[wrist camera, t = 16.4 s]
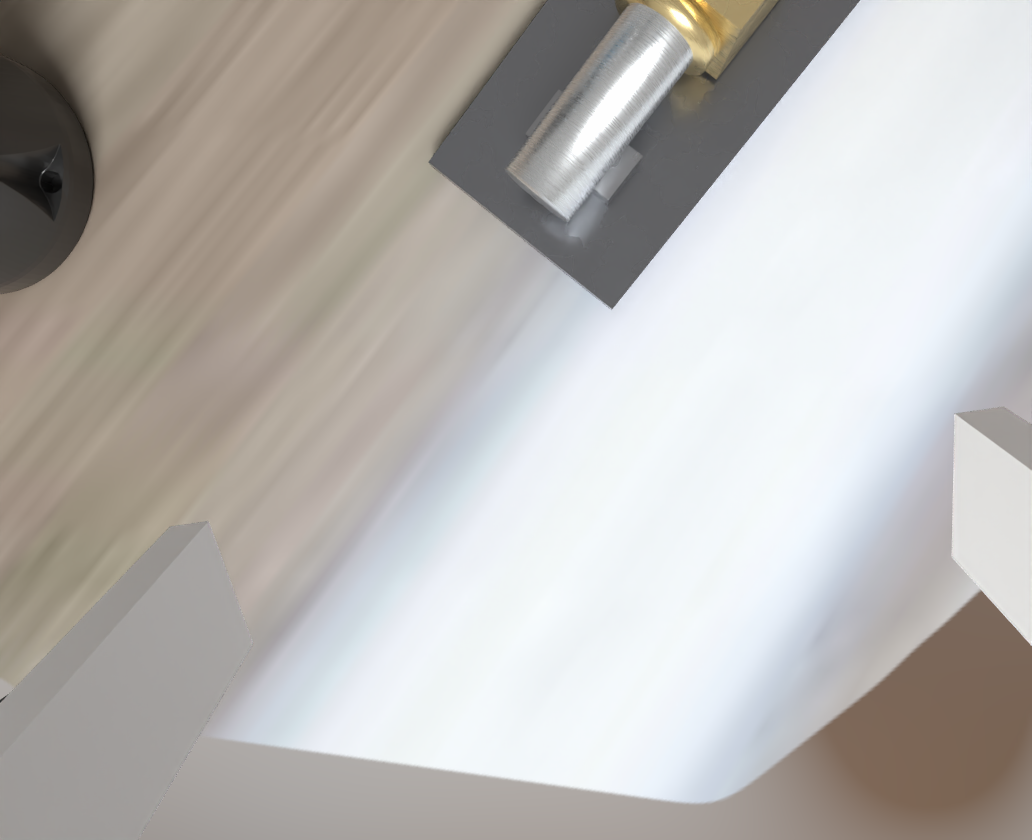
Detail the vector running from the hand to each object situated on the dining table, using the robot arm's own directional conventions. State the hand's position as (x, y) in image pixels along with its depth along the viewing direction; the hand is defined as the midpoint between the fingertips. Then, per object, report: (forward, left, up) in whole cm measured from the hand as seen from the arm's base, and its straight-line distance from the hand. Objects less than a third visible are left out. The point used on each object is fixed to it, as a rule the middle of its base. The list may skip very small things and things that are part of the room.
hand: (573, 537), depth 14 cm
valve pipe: (-14, +19, -34) cm, 42 cm away
